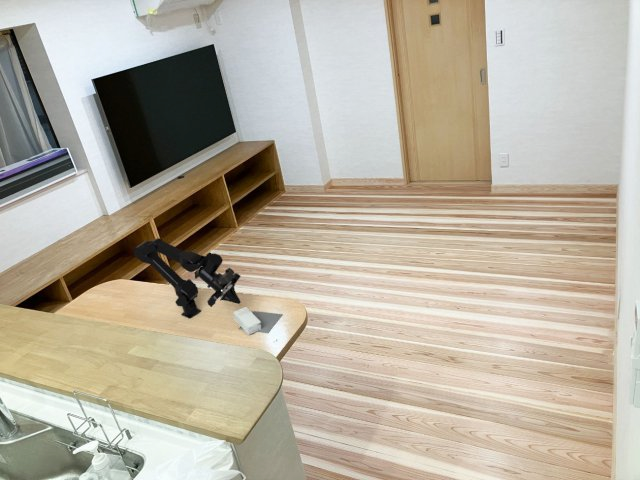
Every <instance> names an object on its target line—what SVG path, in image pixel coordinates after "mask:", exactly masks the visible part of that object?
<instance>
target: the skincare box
mask: <svg viewBox="0 0 640 480" xmlns="http://www.w3.org/2000/svg"><path fill="white" fill-rule="evenodd" d="M233 319H234V321H235V322H236V323H237V324H238V325H239V326H241V327H242V328H243V329H244V330H243V331H244V332H245V333H246V334H247V335H248V336H249V335H252V334H254V333H256V331H259V330H261V321H260V320H259V319H258V318H257V317H256V316H255V315H254V314H253V312H252V311H251V310H250V309H249V308H248V307H247V306H245V307H242V308H240V309H238V310H235V311H233Z"/></svg>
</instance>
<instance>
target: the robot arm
mask: <svg viewBox="0 0 640 480" xmlns="http://www.w3.org/2000/svg"><path fill="white" fill-rule="evenodd" d="M133 254H134V256H135V257H136V259H138V260H139V261H141V262H142V263H144V264H148V265H150V266H151V267H152V268H153V269H154V270H155V271H156V272H158V274H159V275H161V277H162V278H163V279H165V280H166V281H167V283H169V284H170V285H171V287H173V289H174V293H175V295H176V296H177V299H176V300H175V305H176V306H177V307H182V311H183V312H182V313H181V314H180V315H181V316H182V317H185V318H188V319H192V318H193V317H195V316H196V315H198V314H199V313H201V312H202V310H201V309H199V308H198V307H197V303H196V301H195V300H196V298H198V295H199V288H198V286H197V284H196V283H194V282H193V281H192V280H191V279H190V278H188V279H183V277H181V276H180V275H179V274H178V273H177V272H176V271H175V270H174V269H172V268H171V267H172V266H171V267H170V265H168V264H167V263H166V261H165V260H163V258H161V257H160V255H159V254H161V255H163V256H164V257H165V256H166V258H169V259H170V260H173V261H175V262H177V263H179V265H180V267H181V268H182V269H184V270H185V271H187V272H189V273H193V272H194V279H198V278H200V279H201V280H202V281H203V282H204V283H205V284H206V285H207V288H208V289H210V288H211V289H212V290H213V291H215V292H213V294H211V296H210V297H209V298H208V300H207V305H208V306H209V307H211V308H212V307H214V305H216V302H217V301H218V300H219V301H226V302H230V303H232V304H237V305H240V304H241V303H242V300H240V298H239V296H238V294H237V292H236V289H235V286H236V284H237V282H238V281H239V280H240V278H241V275H240V274H239V273H237V272H235V271H234V270H233V269H232V268H231V267H228V268H227V269H225V271H224V273H223V274H222V273H220V272H218V273H216V272H217V271H218V270H219V268H220V267H221V265H222V264H223V261H224V260H223V258H222V256H221V255H219V254H217V253H211V251H209V252H208V253H206V255H203V254H199V253H197V252H194V251H185V250H182V249H180V248H178V247H176V246H174V245H172V244H169V243H168V242H165V241H164V240H163V239H161V238H159V237H158V238H155V239H152V240H148V241H147V240H145V241H143V242H142V243H140V244H139V245H137V246H136V247H135V248H133ZM219 298H220V299H219Z"/></svg>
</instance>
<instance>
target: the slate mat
mask: <svg viewBox="0 0 640 480" xmlns="http://www.w3.org/2000/svg"><path fill="white" fill-rule="evenodd" d="M252 313H253V314H254V315H255V316H256V317H257V318H258V319H259V320H260V321H261V330H259V331H256V332H257V333H264V334H269V333H270V332H271V330H272V329H273V328H274V326H275V325H276V324H277V322H278V321H280V319H281V317H283V314H282V313H275V312H274V313H273V312H268V311H267V312H265V311H257V310H253V312H252ZM239 326H240V325H239ZM237 329H238V330H241V331H242V330H243V331H245V330H244V329H243V328H242V327H241V326H240V327H238V328H237ZM256 332H255V333H256Z"/></svg>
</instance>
